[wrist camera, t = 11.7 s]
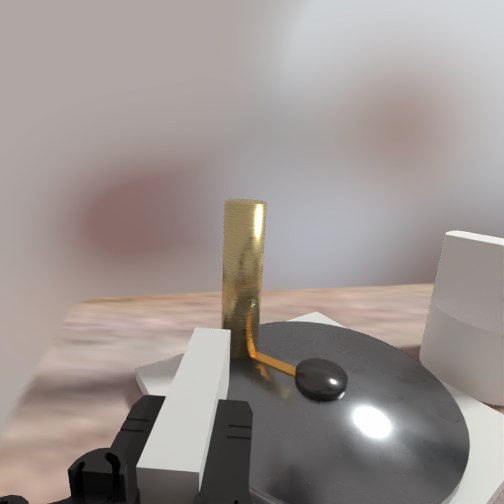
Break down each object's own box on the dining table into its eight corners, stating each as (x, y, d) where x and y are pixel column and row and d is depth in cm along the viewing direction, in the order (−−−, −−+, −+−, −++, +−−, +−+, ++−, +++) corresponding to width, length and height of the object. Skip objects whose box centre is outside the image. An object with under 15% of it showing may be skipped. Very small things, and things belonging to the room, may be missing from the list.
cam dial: (467, 379, 26) (512, 216, 22) (460, 647, 12) (583, 310, 8) (272, 314, 35) (280, 191, 32) (131, 417, 21) (117, 212, 17)
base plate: (315, 321, 37) (318, 295, 36) (533, 448, 22) (548, 408, 21) (136, 381, 26) (134, 346, 25) (320, 735, 10) (331, 675, 10)
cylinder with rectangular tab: (402, 364, 30) (428, 237, 27) (440, 334, 36) (465, 226, 32) (525, 425, 24) (580, 268, 20) (547, 376, 29) (592, 247, 26)
